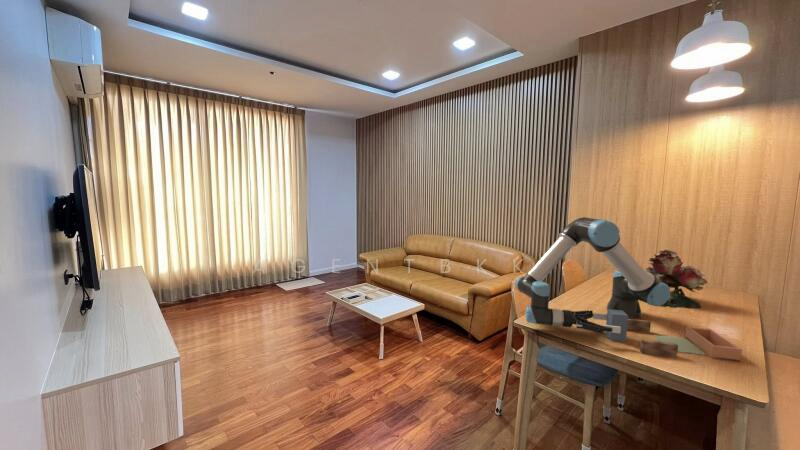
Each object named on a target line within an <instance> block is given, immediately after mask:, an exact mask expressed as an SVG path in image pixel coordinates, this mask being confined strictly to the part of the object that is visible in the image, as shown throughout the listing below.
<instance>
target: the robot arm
mask: <svg viewBox="0 0 800 450" xmlns="http://www.w3.org/2000/svg"><path fill="white" fill-rule="evenodd" d="M620 235H621V234H620V228H619V227H618V225H616V224H615V223H614V222H612V221H610V220H606V219H601V218H600V219H598V218H592V217H579V218H577V219H574V220H572V221H571V222H569V224H567V225H566V226H565V227H564V228H563V229H562V230H561V231H560V233H559V234H558V237H557V239H555V241H554V242H553V243H552V245H551V246H550V247H548V249H547V251H545V253H544V254H543V255H542V256H541V257H540V259H538V261H537V262H536V263H535V264H534V265H533V266H532V268H531V269H530V270H529V271H528V272H527V273H526V274H525V275H524V276H520V277H517V278H516V279H515V282H514V286H515V288H516V289H517V290H518V291H519V292H520V293H521V294H524V295H525V296H527V298H529V299H530V305H529V306H526V308H525V320H526V322H527V323H530V324H534V325H535V324H536V325H546V326H553V327H561V326H562V327H563V328H572V327H573V325H574V326H575V325H576V328H577V329H580V330H581V329H582V330H586V331H589V332H594V333H597V334H600V335H603V334H604V332H612V333H620V331H621V327H620V326H610V325H606V324H602V325H601V324H599V323H595V322H592V321H589V320H590V319H591V318H592V319H593V320H599V321H600V320H601V321H602V320H603V321H606V320H607V313H599V312H593V310H592V309H590V310H579V311H578V310H575V311H572V310H569V309H560V308H559V309H558V308H550V307H549V302H550V284H548V283H547V282H544V279H545V278H546V277H547V276H548V275H549V274H550V272H551V271H553V269H555V267H556V266H557V265H558V264H559V263H560V261H561V260H562V259H563V258H564V257H565V256H566V255H567V253H569V251H570V250H572V248H573V247H577V245H578V244H580V243H581V242H583V243H588V244H589V245H590V246H591V247H592V248H593V249H594V251H596V252H598V253H602V254H603V256H605V257H606V259H607V260H608V261H609V262H610V263H611V264H612V265H613V266H614V267H615V268H616V270H615V271H614V272H613V276H612V290H611V291H612V293H611V297H610V299H609V300H608V303H607V305H606V310H607V309H613V310H623V311H624V312H625V313H626V314H627V315H628V319H638V318H641V317H642V309H641V306H640V302H643V303H644V304H645V303H646V304H647V305H648V306H649V305H650V306H654V307H661V305H663V304H664V303H666V301H667V300H668V299H669V296H670V291H671V288H669V286H668V285H667V284H665V283H661V282H659V281H658V280H657V279H656V278H655V277H654V276H653V275H652V274H651V273H649V272H645V269H643V267H642V266H641V265H640V263H639V262H637V260H636V259H635V258H634V257H633V256H632V255H631V254H630V252H629V251H628V250H627V249H626V248H625V246H623V244H622V243H621V236H620ZM639 301H640V302H639ZM588 319H589V320H588Z"/></svg>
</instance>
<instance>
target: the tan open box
mask: <svg viewBox="0 0 800 450" xmlns="http://www.w3.org/2000/svg"><path fill="white" fill-rule="evenodd" d="M685 339H687V340H688V341H689V342H691V343H692V344H693V345H694V346H696V347H697V348H698V349H699V350H701V351H702V352H703V353H705V354H706V355H707V356H708V357H710V358H711V359H713V360H714V359H715V360H725V361H731V362H741V360H742V359H741V358H742V357H741V356H742V348H741V347H739V346H738V345H736V344H735V343H733V342H731V341H730V340H728V339H727V338H725V337H723V336H722V335H721V334H719V332H716V331H715V330H713V329H710V328H700V327H692V326H686V329H685Z"/></svg>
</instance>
